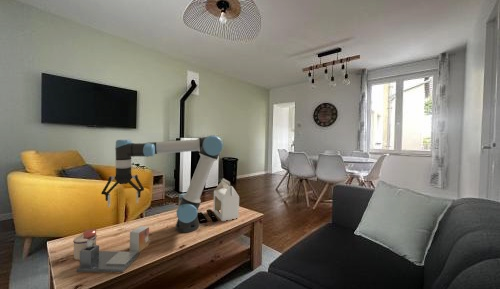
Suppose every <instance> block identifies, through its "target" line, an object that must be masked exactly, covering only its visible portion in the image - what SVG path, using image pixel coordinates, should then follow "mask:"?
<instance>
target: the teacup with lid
mask: <svg viewBox="0 0 500 289" xmlns="http://www.w3.org/2000/svg"><path fill="white" fill-rule="evenodd" d="M92 245H97V235H96V236H95V237H93V238H92ZM86 246H87V239H84V238H83V233H81V235H77V236H76V237H75V238H74V239H73V259H74V260H76V261H77V260H78V261H80V251H81V250H82V249H84V248H85V247H86Z"/></svg>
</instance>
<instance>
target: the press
mask: <svg viewBox="0 0 500 289" xmlns="http://www.w3.org/2000/svg"><path fill="white" fill-rule="evenodd" d="M139 256H140V252H130V251H121V250H120V251H118V250H117V251H115V250H113V251H111V250H110V251H109V250H100V245H97V244H96V245H92V249H91V250H87V246H86V247H85V248H84V249H82V250H81V251H80V260H79V266H78V267H76V272H77V273H106V274H107V272H108V273H109V272H123V271H124V270H125V269H126V268H127V267H128V268H129V267H130V265H131V264H132V263H134V261H135V260H136V259H138V257H139ZM126 270H127V269H126ZM126 270H125V271H126ZM125 271H124V272H125ZM124 272H123V273H124Z"/></svg>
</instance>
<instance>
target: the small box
mask: <svg viewBox="0 0 500 289" xmlns="http://www.w3.org/2000/svg"><path fill="white" fill-rule="evenodd" d="M149 238H150V227H149V226H145V225H144V226H143V225H140V226H138V227H136V228H135V229H133V230H132V231H129V252H139V253H140V252H142V251H143V250H144V249H146V248H148V247H149V242H150V241H149V240H150V239H149Z"/></svg>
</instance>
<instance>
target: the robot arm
mask: <svg viewBox="0 0 500 289" xmlns="http://www.w3.org/2000/svg"><path fill="white" fill-rule="evenodd" d="M114 149H115V167H116V168H115V176H111V175H110V176H109V177H108V178H107V179H108V180H107V182H106V184H105V186H104V187H103V189H102V191H101V195H104V196H105V201H106V202H107V208H110V207H111V192H112V191H113V190H114V189H115V187H116V186H118V185H127V184H129V185H130V186H131V187H132V188H133V189H134V190H136V205H138V204H139V198H141V194H142V193H141V192H144V191H145V188H144V186H143V184H142V183H141V180H139V177H138V174H135V175H133V174H132V167H131V166H132V158H133V157H139V158H140V157H141V158H142V157H144V158H145V157H146V158H148V157H153V156H155V155H160V154H173V153H185V152H199V153H198V154H199V156H200V157H199V160H198V163H197V165H196V168H195V170H194V173H193V176H192V178H191V180H190V182H189V186H188V188H187V191H186V192H184V193H180V194H179V196H178V205H177V209H176V217H177V220H176V223H175V230H176V231H177V232H179V233H192V232H194V231H197V230H198V229H199V228H200V222H199V218H198V212H199V211H198V210H199V208H200V205H201V202H202V201H201V196H202V193H203V191H204V188H205V185H206V183H207V180H208V178H209V176H210V173H211V170H212V167H213V165H214V162H215V161H218V159H219V156H220V154H221V152H222V151H223V150H224V143H223V140H222V138H221V137H219V136H218V135H212V134H211V135H207V136H204V137H198V138H197V139H184V140H182V139H181V140H171V141H170V140H169V141H156V142H154V141H153V142H150V141H149V142H144V143H141V142H137V143H133V142H132V140H131V139H116V141H115V147H114ZM132 179H134V180H135V181H136V183H137V185H138V186H137V185H136V184H135V182H133V181H132ZM113 180H114V181H116V182H115V183H114V184H113V185H112V186H111V187H110V188H109V189H108V187H109V186H110V185H111V183H112V182H113ZM107 189H108V190H107Z"/></svg>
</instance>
